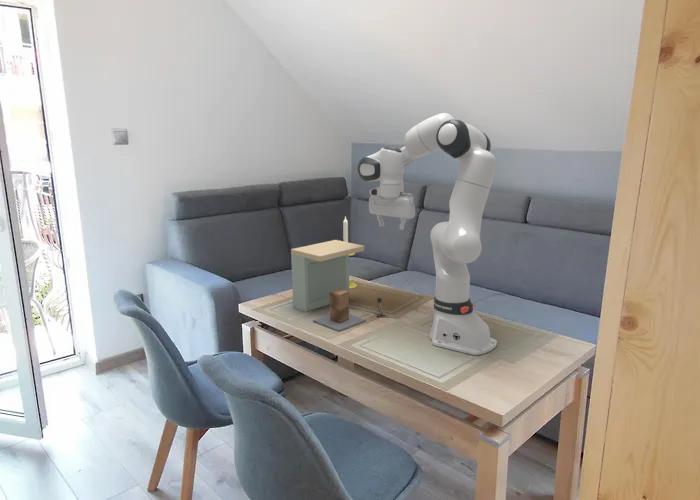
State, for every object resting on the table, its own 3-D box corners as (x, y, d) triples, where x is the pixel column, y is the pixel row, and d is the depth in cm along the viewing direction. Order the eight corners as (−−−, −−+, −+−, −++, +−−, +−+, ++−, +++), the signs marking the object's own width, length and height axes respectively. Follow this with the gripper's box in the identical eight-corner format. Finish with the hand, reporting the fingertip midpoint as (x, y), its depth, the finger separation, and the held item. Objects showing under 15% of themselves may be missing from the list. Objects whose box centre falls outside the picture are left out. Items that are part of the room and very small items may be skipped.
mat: (366, 321, 185) (366, 319, 185) (339, 331, 175) (339, 330, 175) (340, 312, 195) (340, 310, 195) (312, 321, 185) (312, 320, 185)
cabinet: (364, 302, 206) (364, 245, 200) (321, 317, 189) (319, 256, 184) (336, 293, 217) (335, 239, 212) (293, 307, 201) (291, 249, 195)
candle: (361, 284, 230) (360, 215, 223) (349, 290, 222) (349, 218, 214) (342, 281, 235) (342, 213, 228) (331, 286, 227) (329, 216, 219)
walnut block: (348, 319, 185) (348, 291, 183) (340, 323, 182) (340, 294, 179) (338, 316, 188) (338, 288, 186) (330, 320, 185) (329, 292, 182)
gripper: (419, 192, 180) (418, 230, 184) (377, 188, 194) (377, 223, 198) (408, 194, 176) (407, 232, 179) (366, 190, 190) (366, 225, 193)
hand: (391, 227), depth 189 cm, fingers open, 8 cm apart
